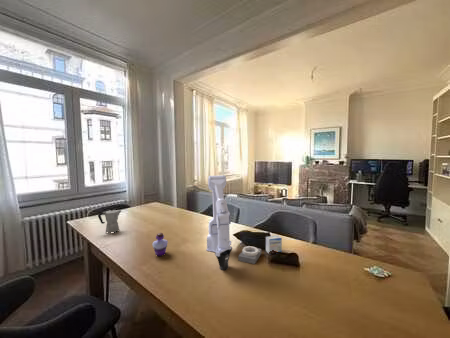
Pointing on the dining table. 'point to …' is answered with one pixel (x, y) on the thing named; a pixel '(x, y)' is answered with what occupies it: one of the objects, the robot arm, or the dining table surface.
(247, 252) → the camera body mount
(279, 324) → the dining table surface
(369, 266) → the dining table surface
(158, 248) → the potion bottle
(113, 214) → the coffeepot
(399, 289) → the dining table surface
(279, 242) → the medicine box
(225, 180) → the robot arm
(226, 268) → the lens
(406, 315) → the dining table surface
